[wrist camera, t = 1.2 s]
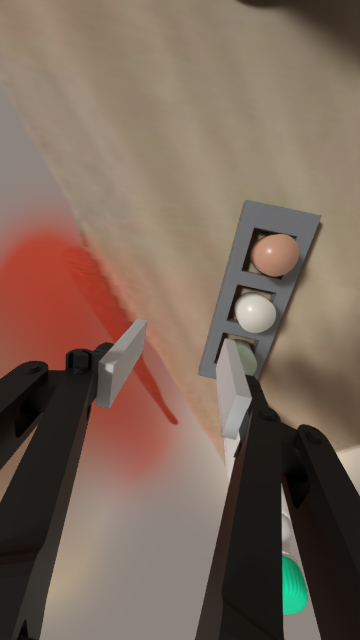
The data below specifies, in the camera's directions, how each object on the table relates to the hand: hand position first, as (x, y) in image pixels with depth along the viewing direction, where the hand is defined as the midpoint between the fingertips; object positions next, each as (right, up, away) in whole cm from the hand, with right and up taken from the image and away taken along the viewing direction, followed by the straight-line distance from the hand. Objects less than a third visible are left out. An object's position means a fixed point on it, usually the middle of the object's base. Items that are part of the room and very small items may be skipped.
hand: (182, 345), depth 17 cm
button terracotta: (+12, +11, +13) cm, 21 cm away
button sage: (+9, -4, +19) cm, 21 cm away
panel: (+11, +5, +18) cm, 22 cm away
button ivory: (+11, +4, +16) cm, 20 cm away
